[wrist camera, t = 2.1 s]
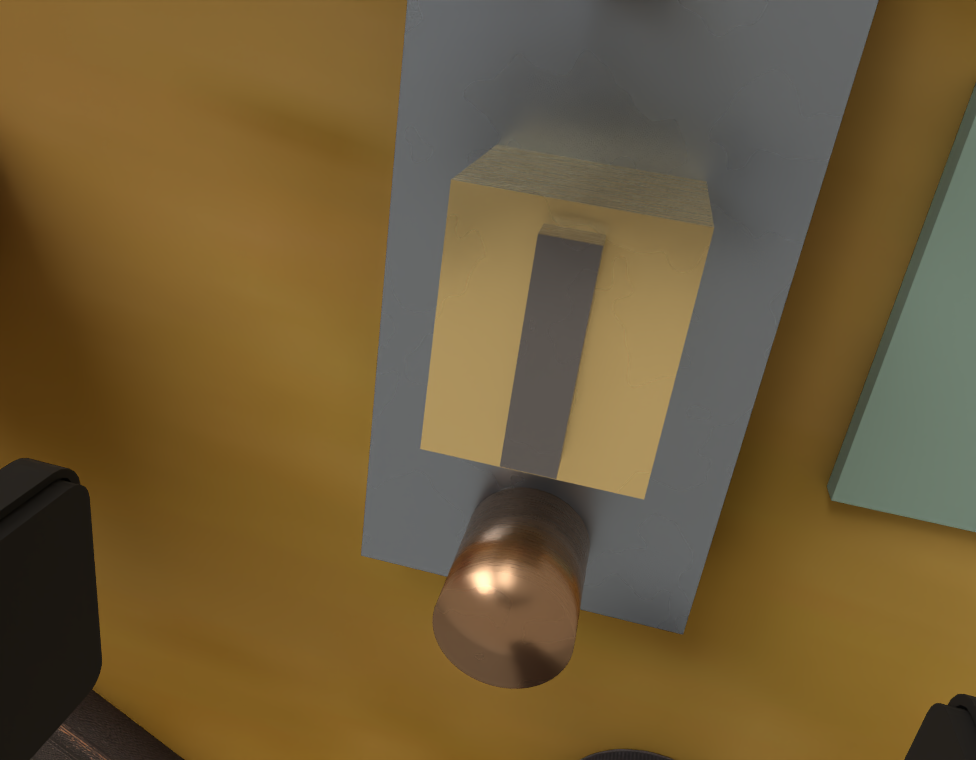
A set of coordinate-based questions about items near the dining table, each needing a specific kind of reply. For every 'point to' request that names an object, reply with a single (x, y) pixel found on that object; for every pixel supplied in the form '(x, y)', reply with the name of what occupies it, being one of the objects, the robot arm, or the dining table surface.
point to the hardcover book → (102, 736)
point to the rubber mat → (924, 370)
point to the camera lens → (625, 755)
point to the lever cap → (563, 315)
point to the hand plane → (715, 318)
